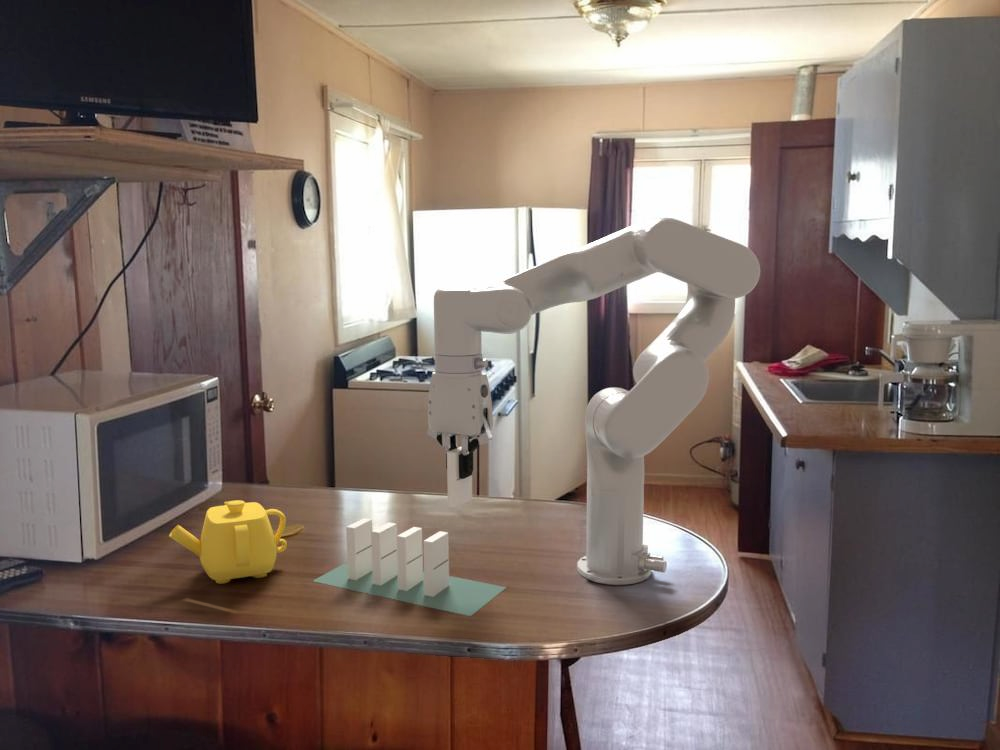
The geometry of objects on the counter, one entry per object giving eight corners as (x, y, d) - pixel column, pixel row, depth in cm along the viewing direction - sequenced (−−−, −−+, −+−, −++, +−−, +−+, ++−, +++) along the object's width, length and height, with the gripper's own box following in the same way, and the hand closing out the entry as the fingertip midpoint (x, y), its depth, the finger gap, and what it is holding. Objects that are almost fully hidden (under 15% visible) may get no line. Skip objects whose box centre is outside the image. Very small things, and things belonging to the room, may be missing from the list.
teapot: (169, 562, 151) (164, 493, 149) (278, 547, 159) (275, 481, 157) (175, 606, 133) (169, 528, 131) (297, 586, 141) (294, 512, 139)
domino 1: (373, 570, 146) (372, 519, 145) (356, 580, 142) (354, 528, 141) (365, 568, 147) (364, 518, 146) (347, 578, 143) (346, 526, 141)
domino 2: (398, 575, 144) (396, 523, 143) (380, 585, 140) (379, 532, 138) (389, 573, 145) (388, 522, 143) (372, 583, 140) (371, 531, 139)
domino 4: (449, 585, 140) (448, 532, 138) (433, 596, 135) (432, 542, 134) (440, 583, 140) (439, 531, 139) (424, 594, 136) (423, 540, 135)
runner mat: (506, 589, 139) (506, 587, 139) (470, 618, 128) (470, 616, 128) (355, 559, 152) (355, 557, 152) (312, 583, 142) (312, 581, 142)
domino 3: (423, 580, 142) (422, 528, 140) (406, 591, 138) (405, 537, 136) (414, 578, 143) (413, 526, 141) (398, 589, 138) (396, 535, 137)
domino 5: (472, 499, 142) (471, 446, 141) (456, 507, 138) (455, 453, 137) (464, 497, 143) (463, 445, 142) (447, 505, 139) (446, 451, 138)
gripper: (512, 364, 137) (512, 476, 139) (430, 358, 144) (433, 464, 147) (488, 371, 130) (489, 488, 133) (404, 364, 138) (407, 475, 141)
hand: (459, 475), depth 140 cm, fingers closed on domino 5, 1 cm apart
